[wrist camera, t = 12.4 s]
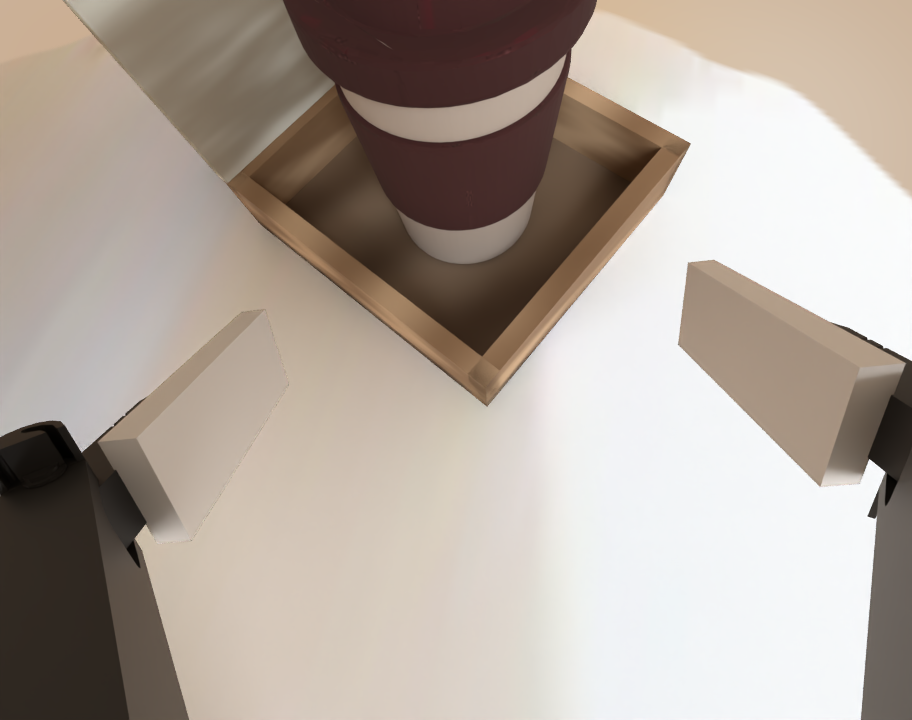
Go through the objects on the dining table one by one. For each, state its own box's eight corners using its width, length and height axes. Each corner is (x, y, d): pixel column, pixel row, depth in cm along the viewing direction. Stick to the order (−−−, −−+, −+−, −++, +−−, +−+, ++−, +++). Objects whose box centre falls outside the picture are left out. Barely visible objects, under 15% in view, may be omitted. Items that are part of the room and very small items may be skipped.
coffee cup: (531, 308, 24) (578, 26, 10) (358, 268, 26) (186, -21, 12) (571, 156, 27) (653, -238, 13) (411, 129, 29) (324, -247, 14)
